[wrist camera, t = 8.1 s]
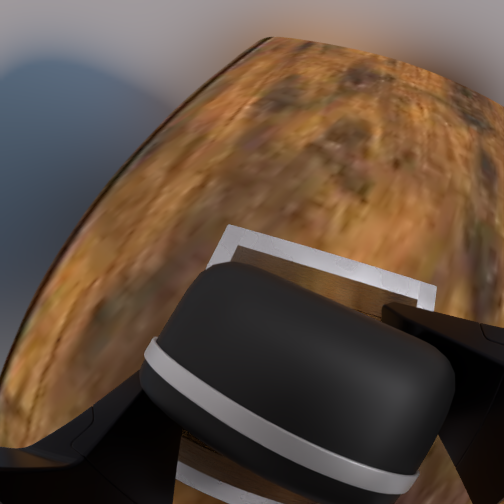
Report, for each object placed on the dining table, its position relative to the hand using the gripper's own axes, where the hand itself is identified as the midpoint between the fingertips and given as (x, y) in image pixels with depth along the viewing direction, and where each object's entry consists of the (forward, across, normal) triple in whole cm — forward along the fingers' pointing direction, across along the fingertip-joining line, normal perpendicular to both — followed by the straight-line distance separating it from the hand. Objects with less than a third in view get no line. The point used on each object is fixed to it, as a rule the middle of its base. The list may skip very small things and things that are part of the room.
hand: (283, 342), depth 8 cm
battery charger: (+4, -1, +6) cm, 8 cm away
